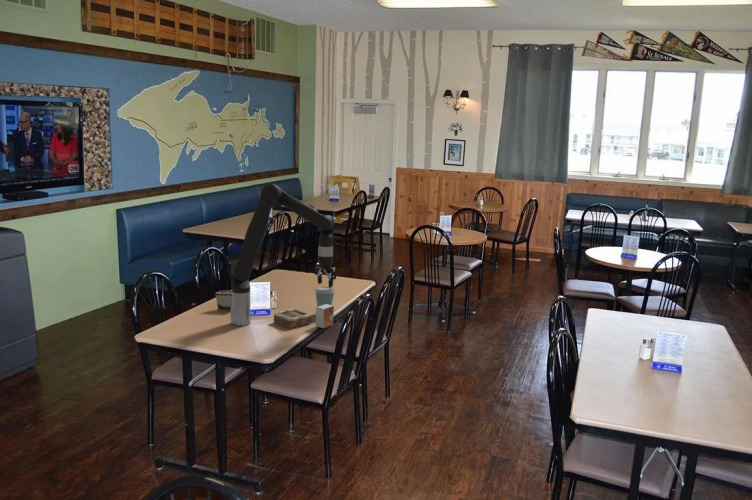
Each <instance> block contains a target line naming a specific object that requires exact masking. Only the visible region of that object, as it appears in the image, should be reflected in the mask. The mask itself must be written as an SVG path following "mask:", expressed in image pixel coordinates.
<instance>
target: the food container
mask: <svg viewBox="0 0 752 500" xmlns="http://www.w3.org/2000/svg"><path fill="white" fill-rule="evenodd" d="M214 296H215V298H216V305H217V310H218V311H223V312H224V311H225V312H231V306H232V290H219V291H217V292H215V294H214Z"/></svg>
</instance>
